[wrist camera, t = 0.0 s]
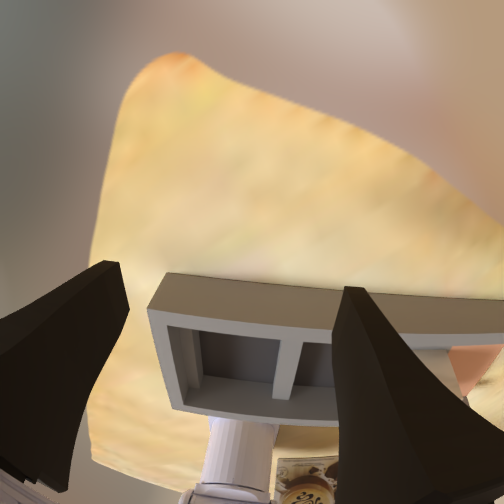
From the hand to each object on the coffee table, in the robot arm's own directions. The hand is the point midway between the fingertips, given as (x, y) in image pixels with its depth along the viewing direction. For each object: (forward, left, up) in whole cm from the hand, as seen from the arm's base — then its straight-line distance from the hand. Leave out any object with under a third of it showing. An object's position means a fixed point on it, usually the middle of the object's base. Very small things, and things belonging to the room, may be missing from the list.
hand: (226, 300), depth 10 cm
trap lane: (-13, -9, -10) cm, 19 cm away
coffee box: (-40, -10, -10) cm, 42 cm away
